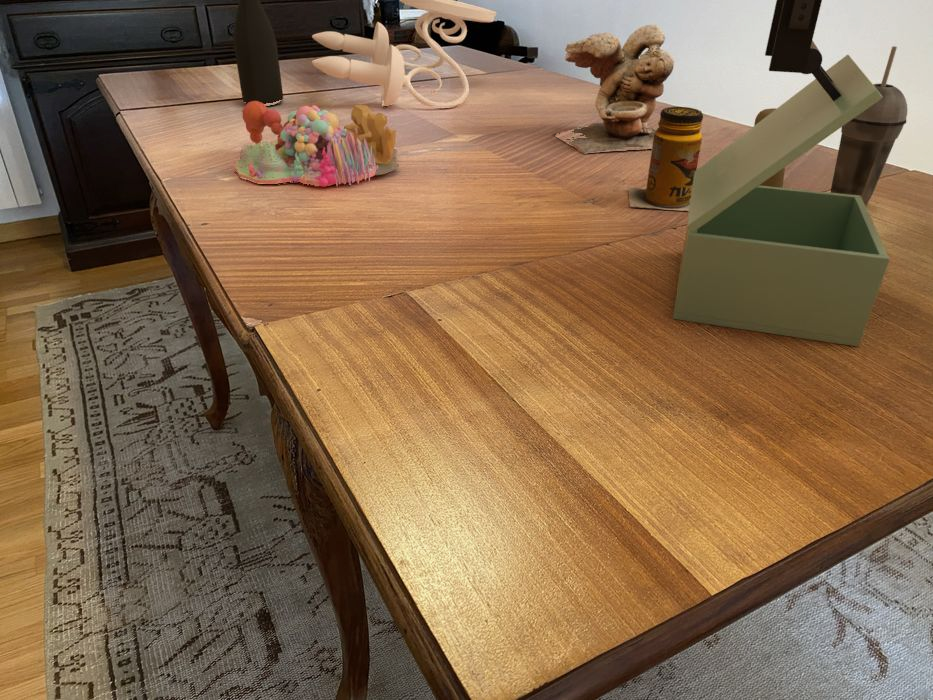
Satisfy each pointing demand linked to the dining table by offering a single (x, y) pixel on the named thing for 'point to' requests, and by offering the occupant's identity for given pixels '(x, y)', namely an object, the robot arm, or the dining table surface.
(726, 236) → the bin
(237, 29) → the wine bottle
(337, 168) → the pastel sphere sculpture
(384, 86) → the candelabra
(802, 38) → the robot arm
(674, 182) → the condiment
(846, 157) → the beverage cup
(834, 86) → the bin lid
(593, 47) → the cherub figurine
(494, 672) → the dining table surface
